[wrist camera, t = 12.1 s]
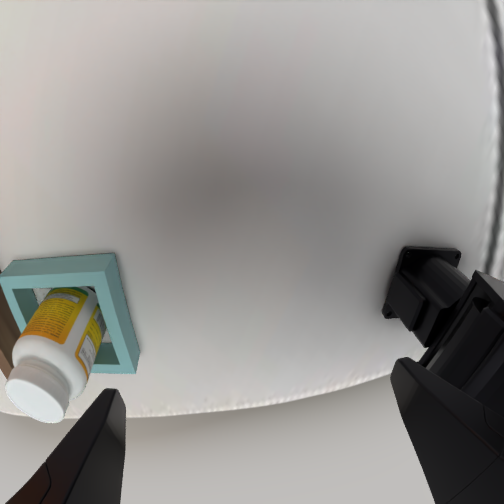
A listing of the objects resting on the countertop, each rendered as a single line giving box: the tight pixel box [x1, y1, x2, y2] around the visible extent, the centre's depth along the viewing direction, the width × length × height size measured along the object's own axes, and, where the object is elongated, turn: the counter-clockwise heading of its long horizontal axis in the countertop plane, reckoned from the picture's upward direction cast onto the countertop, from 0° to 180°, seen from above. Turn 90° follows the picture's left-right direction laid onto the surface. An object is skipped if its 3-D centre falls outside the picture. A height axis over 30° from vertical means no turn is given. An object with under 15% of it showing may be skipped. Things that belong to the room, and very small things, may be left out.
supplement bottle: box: [5, 286, 107, 423], centre depth 18 cm, size 5×5×10 cm
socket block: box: [0, 253, 140, 374], centre depth 21 cm, size 9×9×2 cm
